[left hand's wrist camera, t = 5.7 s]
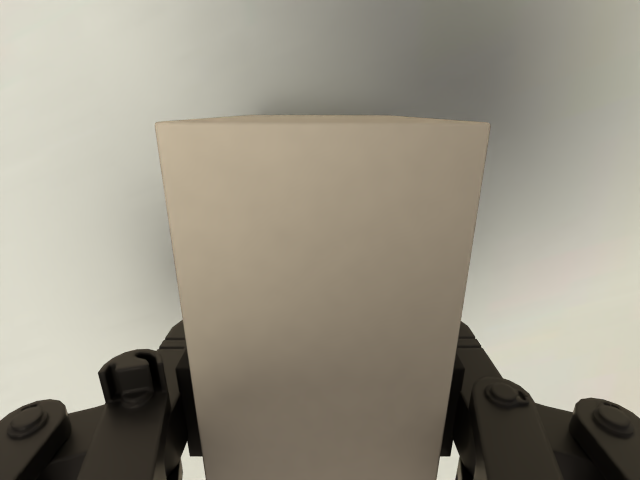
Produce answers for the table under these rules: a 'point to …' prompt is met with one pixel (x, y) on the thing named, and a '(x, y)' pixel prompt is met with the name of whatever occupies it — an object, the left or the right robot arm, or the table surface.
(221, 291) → the post
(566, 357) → the table surface
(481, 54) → the table surface
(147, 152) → the table surface
